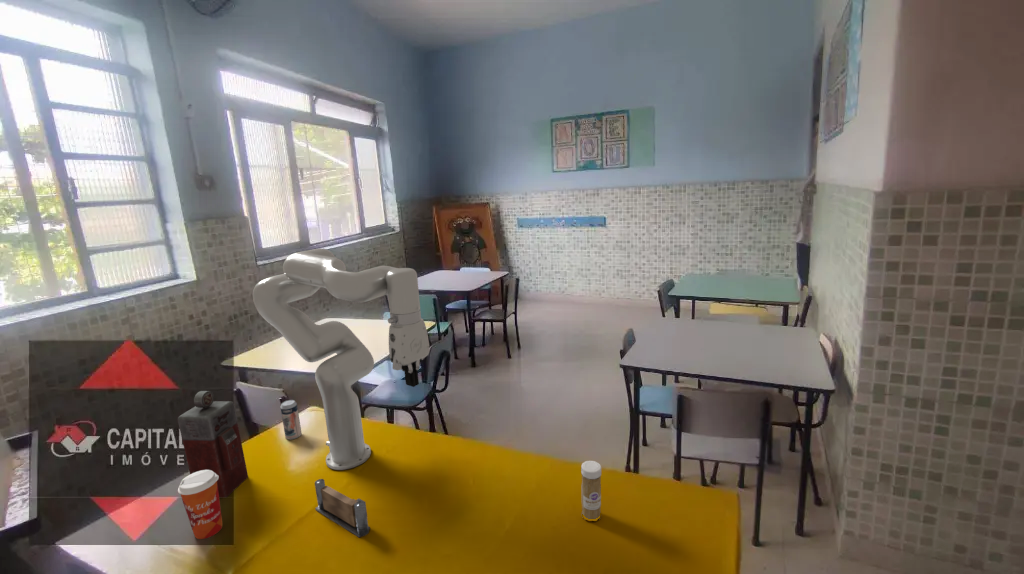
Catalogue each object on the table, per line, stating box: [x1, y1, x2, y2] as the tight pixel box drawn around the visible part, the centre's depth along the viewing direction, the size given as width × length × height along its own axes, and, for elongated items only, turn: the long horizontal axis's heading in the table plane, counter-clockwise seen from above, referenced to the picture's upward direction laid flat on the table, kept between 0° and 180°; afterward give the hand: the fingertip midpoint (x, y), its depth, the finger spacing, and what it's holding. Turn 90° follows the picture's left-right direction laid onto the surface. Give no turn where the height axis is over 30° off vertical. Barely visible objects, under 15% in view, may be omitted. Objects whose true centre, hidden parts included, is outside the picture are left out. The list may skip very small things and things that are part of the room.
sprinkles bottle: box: [580, 460, 602, 519], centre depth 104 cm, size 5×5×14 cm
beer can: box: [279, 399, 302, 441], centre depth 144 cm, size 5×5×12 cm
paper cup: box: [177, 470, 223, 540], centre depth 105 cm, size 8×8×14 cm
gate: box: [321, 485, 358, 527], centre depth 107 cm, size 12×2×6 cm, turn 56°
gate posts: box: [314, 478, 371, 538], centre depth 107 cm, size 18×4×8 cm, turn 56°
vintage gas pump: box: [177, 390, 249, 499], centre depth 119 cm, size 9×11×28 cm
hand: (412, 384), depth 117 cm, fingers closed
